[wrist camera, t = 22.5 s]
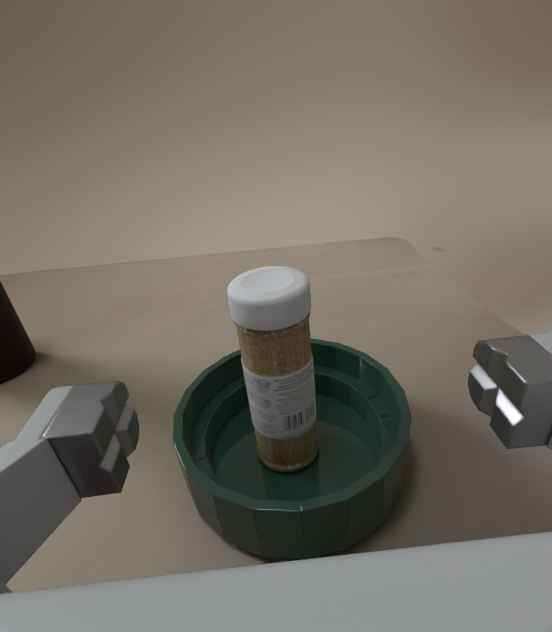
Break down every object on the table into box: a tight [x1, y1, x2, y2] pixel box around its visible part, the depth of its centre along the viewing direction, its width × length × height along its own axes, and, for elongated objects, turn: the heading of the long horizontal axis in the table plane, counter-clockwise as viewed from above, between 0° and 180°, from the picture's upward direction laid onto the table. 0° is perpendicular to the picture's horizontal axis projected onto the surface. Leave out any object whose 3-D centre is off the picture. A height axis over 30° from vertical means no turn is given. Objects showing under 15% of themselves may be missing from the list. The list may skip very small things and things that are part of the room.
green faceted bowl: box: [173, 339, 411, 560], centre depth 27 cm, size 15×15×5 cm
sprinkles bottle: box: [227, 266, 319, 472], centre depth 24 cm, size 5×5×13 cm
